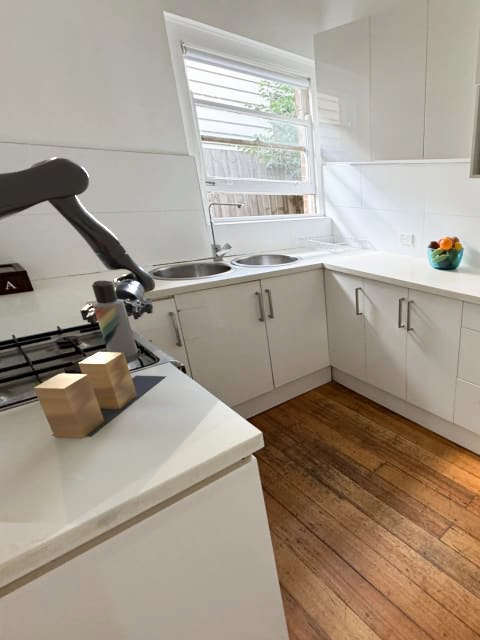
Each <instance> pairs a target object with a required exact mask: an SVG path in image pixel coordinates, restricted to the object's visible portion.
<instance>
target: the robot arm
mask: <svg viewBox="0 0 480 640" xmlns="http://www.w3.org/2000/svg"><path fill="white" fill-rule="evenodd" d="M89 186H90V176H89V174H88V172H87V171H86V169H85V168H84V167H83V166H82V165H81V164H79V163H78V162H77V161H74V160H71V159H69V158H65V157H53V158H52V157H51V158H48V159H45V160H41V161H38V162H35V163H33V164H32V165H31V166H30V167H29V168H25V169H21V170H17V171H11V172H2V173H1V172H0V221H2V220H4V219H6V218H9V217H12V216H14V215H17V214H19V213H21V212H24V211H26V210H28V209H30V208H33V207H35V206H37V205H39V204H41V203H45V202H48V203H49V204H50V205H51V206H52V207H53V208H54V209H55V210H56V211H57V212H58V213H59V214H60V215H61V216H62V217H63V218H64V219H65V220H66V221H67V222H68V223H69V225H71V227H72V228H73V229H74V230H75V231H76V232H77V233H78V234H79V235H80V236H81V238H82V239H83V240H84V241H85V242H86V244H87V245H88V246H89V247H90V249H91V250H92V251H93V253H94V254H95V256H97V258H98V259H99V261H100V262H101V263H102V265H103V266H104V268H106V270H108V271H118V270H119V271H120V270H126V271H128V273H126V274H123V275H120V276H118V277H116V278H114V279H113V281H112V282H113V285H114V289H115V292H116V295H117V298H118V299H121V300H123V302H124V306H125V309H126V312H127V316H128V318H129V317H132V316H133V319H134V320H139V319H140V318H142V316H143V315H145V313H146V314H149V315H150V314H153V312H154V305H153V301H152V298H151V297H147V298H145V299H144V297H145V294H147V293H150V292H152V291H154V290H155V288H156V282H155V279H154V278H153V276H152V274H150V273H149V272H148V271H147V270H146V269H144V268H143V267H142V266H141V265H140V264H139V263H137V262H136V260H134V259H133V257H132V256H131V255H130V254H129V253H128V251H127V249H126V248H125V247H124V246H123V244H122V243H121V241H120V239H119V238H118V237H117V236H116V235H115V233H113V232H112V230H110V229H109V228H108V227H107V226H106V225H104V224H103V223H102V222H100V220H98V219H97V218H96V217H95V216H93V215H92V214H91V213H90V212H89V211H88V210H87V208H86V207H84V205H83V204H82V203H81V201H80V199H79V198H78V196H80V195H82V194H83V193H85V192H86V191H87V189H88V188H89ZM93 304H94V303H92V302H91V303H87V304H85V306H84V307H82V308H81V309H80V310H79V311H80V314H81V318H82V320H83V321H86V322H87V323H88V324H90V325H96V323H98V320H97V317H96V314H95V310H94V307H93Z"/></svg>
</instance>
